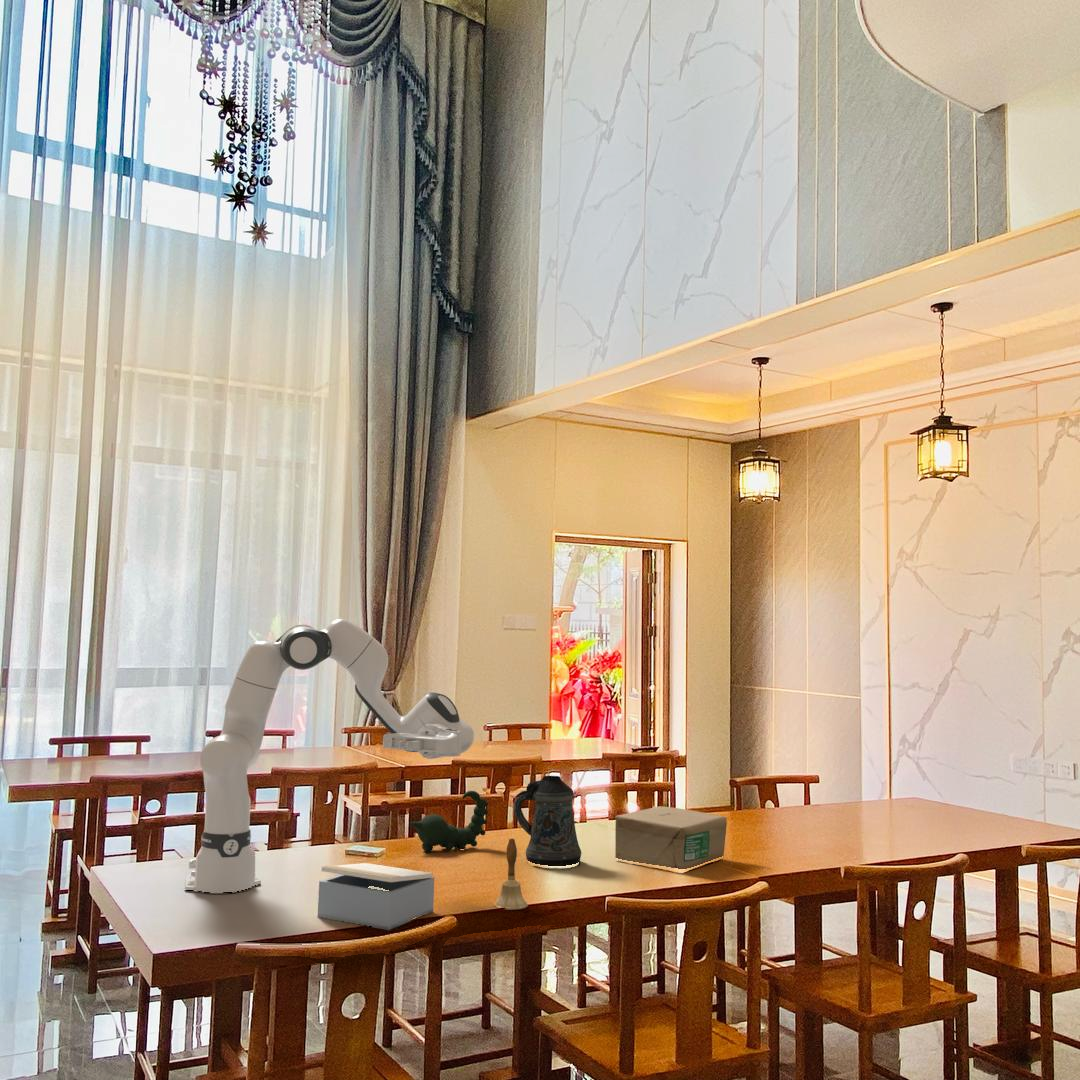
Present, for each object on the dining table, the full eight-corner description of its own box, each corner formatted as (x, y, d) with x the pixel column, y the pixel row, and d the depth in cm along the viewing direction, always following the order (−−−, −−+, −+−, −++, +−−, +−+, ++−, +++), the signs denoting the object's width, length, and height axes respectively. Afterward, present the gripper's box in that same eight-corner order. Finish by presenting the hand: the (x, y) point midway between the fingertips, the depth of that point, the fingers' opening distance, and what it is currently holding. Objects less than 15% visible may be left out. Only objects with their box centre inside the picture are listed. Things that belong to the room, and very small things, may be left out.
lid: (365, 867, 249) (366, 862, 249) (432, 877, 240) (432, 872, 240) (321, 871, 234) (322, 866, 234) (390, 882, 225) (391, 877, 225)
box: (365, 900, 249) (366, 866, 250) (433, 911, 240) (434, 877, 240) (317, 916, 233) (319, 881, 233) (388, 930, 224) (390, 893, 224)
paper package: (684, 875, 286) (684, 825, 287) (609, 861, 302) (610, 813, 303) (729, 861, 307) (729, 814, 308) (657, 848, 323) (658, 804, 324)
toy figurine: (475, 850, 320) (401, 848, 309) (482, 789, 323) (408, 785, 312) (487, 856, 312) (411, 854, 301) (494, 793, 314) (419, 789, 303)
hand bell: (494, 910, 243) (496, 842, 245) (493, 901, 251) (495, 835, 253) (529, 910, 244) (530, 842, 245) (526, 901, 252) (528, 836, 254)
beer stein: (590, 867, 292) (592, 779, 294) (528, 871, 285) (530, 781, 287) (567, 855, 307) (569, 772, 310) (507, 859, 300) (510, 774, 302)
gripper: (400, 726, 269) (369, 730, 256) (466, 731, 259) (437, 735, 247) (399, 750, 268) (368, 755, 256) (465, 756, 259) (436, 761, 246)
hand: (402, 745), depth 251 cm, fingers closed
